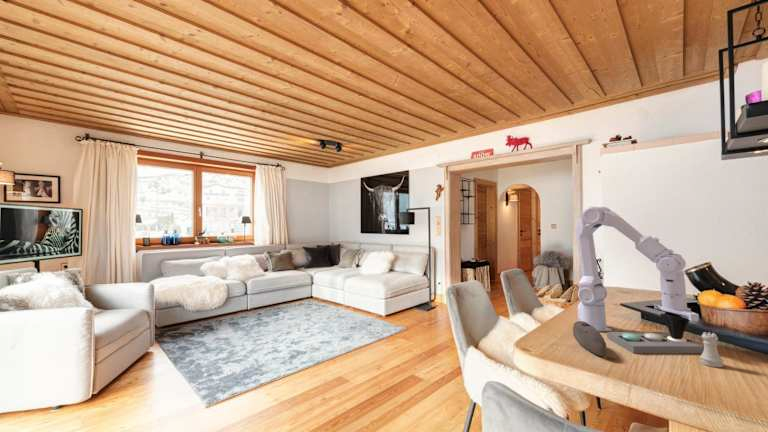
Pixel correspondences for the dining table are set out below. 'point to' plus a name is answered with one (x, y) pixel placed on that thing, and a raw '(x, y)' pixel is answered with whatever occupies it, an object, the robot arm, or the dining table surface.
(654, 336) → the grey button
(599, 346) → the perforated stone tool
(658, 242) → the robot arm
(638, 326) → the dining table surface
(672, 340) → the cream button
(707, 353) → the rook chess piece
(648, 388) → the dining table surface
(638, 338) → the teal button
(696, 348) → the button board
